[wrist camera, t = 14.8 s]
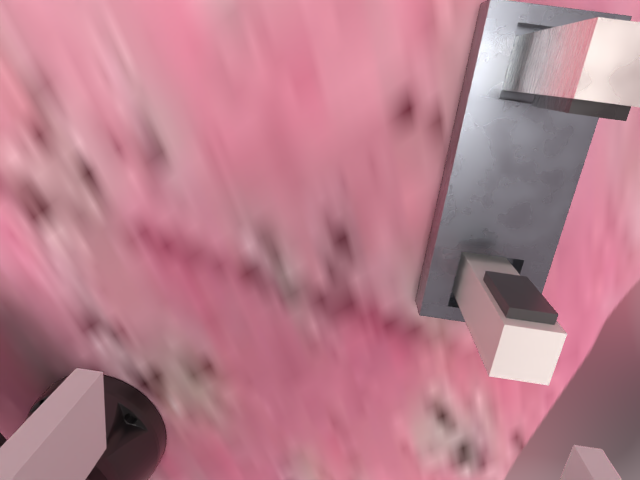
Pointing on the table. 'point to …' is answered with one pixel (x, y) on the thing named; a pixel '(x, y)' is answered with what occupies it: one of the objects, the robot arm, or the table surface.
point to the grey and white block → (524, 137)
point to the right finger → (508, 319)
